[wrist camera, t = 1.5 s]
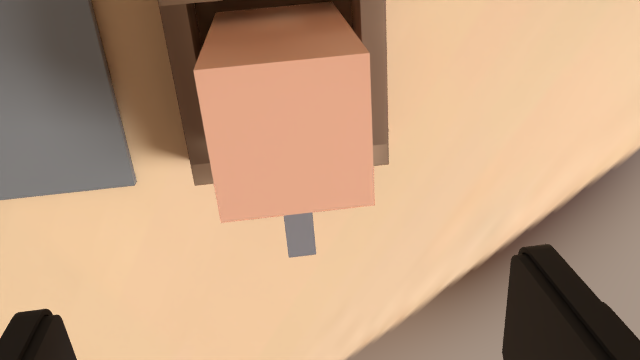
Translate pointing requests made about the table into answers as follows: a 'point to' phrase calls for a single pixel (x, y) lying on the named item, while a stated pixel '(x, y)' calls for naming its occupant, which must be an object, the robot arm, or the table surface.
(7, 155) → the rubber mat
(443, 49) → the table surface
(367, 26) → the frame
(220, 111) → the peach block with tab
